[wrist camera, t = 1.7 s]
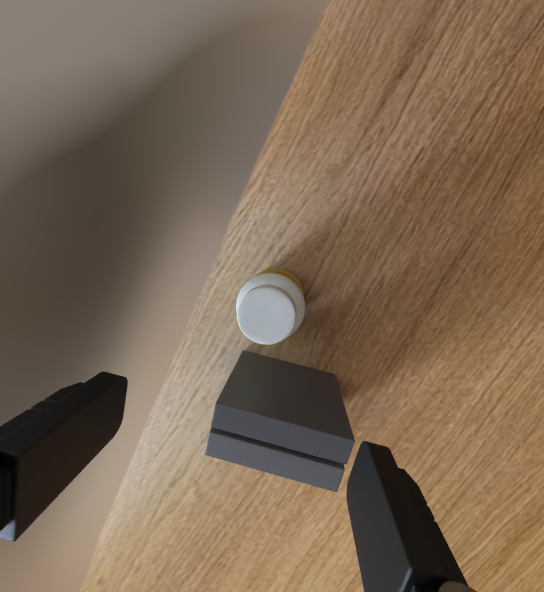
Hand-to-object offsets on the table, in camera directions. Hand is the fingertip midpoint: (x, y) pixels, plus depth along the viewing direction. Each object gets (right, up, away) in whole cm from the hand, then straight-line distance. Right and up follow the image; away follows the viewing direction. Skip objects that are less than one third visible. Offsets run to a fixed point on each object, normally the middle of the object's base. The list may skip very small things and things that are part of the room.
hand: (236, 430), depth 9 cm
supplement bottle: (+2, +5, +19) cm, 20 cm away
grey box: (+2, -5, +20) cm, 21 cm away
